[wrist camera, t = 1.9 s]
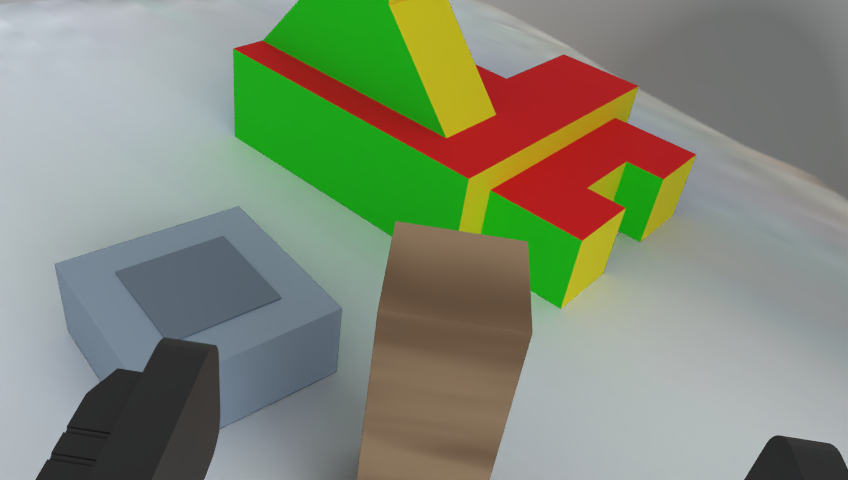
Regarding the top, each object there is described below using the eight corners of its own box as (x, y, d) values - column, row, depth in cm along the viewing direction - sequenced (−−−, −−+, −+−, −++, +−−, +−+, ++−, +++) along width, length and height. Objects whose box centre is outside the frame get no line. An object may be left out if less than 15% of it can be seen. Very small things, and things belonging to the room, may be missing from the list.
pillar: (365, 448, 33) (395, 221, 26) (469, 464, 33) (528, 241, 26) (348, 544, 29) (377, 309, 22) (465, 561, 29) (532, 333, 22)
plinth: (239, 267, 41) (238, 204, 39) (336, 371, 36) (342, 306, 34) (67, 330, 36) (54, 262, 33) (152, 462, 31) (143, 393, 28)
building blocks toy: (535, 332, 41) (637, -10, 30) (235, 140, 52) (229, -156, 41) (686, 205, 53) (796, -69, 42) (416, 73, 65) (448, -168, 54)
